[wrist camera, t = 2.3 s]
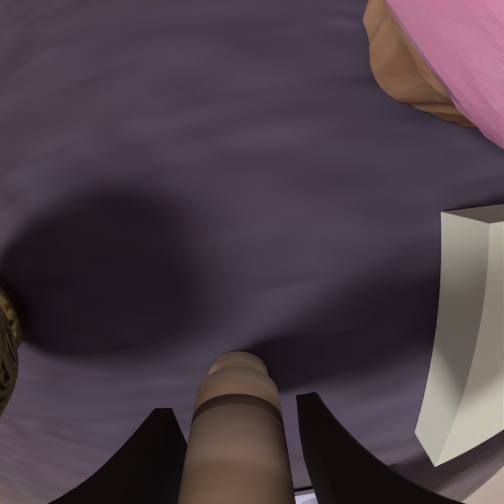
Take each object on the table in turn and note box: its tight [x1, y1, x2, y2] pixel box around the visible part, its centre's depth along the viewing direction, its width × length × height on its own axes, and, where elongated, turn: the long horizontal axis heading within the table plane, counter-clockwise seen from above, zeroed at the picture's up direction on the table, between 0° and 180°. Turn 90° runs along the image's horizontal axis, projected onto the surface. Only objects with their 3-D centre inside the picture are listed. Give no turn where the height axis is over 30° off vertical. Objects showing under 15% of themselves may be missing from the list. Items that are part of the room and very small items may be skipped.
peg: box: [177, 351, 296, 504], centre depth 8 cm, size 3×3×8 cm
